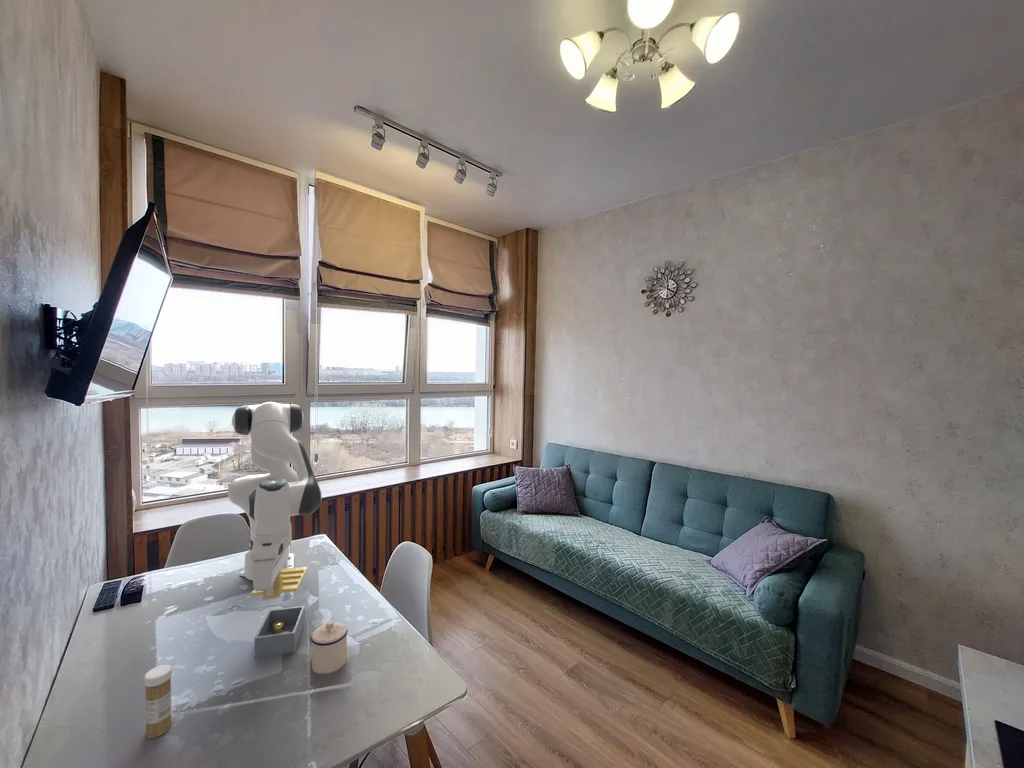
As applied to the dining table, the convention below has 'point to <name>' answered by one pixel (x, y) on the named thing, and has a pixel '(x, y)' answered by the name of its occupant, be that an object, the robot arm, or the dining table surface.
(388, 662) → the dining table surface
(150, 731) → the sprinkles bottle
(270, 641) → the tub
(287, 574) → the yellow flat ridged piece
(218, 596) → the dining table surface
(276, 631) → the ball
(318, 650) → the teacup with lid
